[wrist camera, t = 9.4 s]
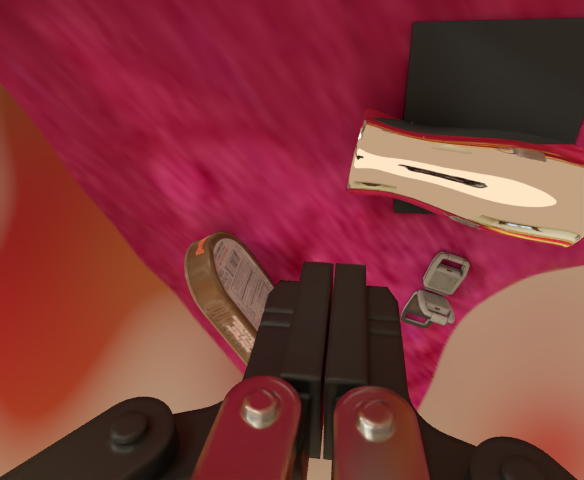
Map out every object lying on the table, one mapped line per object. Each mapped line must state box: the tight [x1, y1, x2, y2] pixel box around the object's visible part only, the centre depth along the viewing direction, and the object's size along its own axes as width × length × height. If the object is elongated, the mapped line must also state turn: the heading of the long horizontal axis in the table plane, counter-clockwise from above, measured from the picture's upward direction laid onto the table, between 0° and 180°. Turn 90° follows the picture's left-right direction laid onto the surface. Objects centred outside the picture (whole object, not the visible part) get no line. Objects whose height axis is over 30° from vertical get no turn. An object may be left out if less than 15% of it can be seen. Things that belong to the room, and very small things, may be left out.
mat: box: [394, 18, 584, 214], centre depth 30 cm, size 12×14×1 cm
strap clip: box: [401, 252, 470, 328], centre depth 37 cm, size 8×3×4 cm, turn 164°
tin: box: [184, 232, 275, 366], centre depth 38 cm, size 15×3×8 cm, turn 31°
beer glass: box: [346, 108, 584, 247], centre depth 29 cm, size 7×7×15 cm
